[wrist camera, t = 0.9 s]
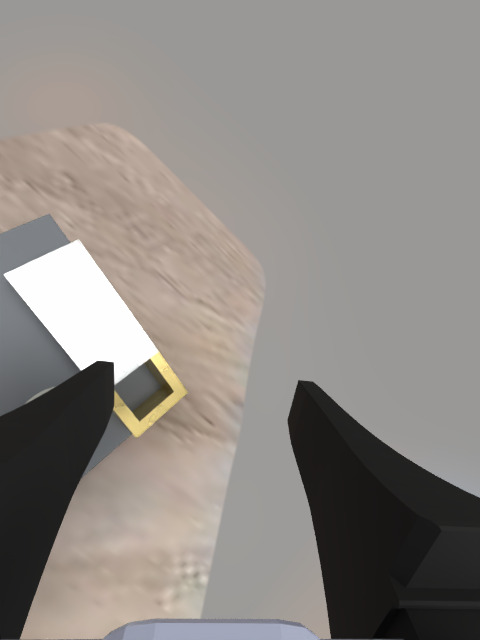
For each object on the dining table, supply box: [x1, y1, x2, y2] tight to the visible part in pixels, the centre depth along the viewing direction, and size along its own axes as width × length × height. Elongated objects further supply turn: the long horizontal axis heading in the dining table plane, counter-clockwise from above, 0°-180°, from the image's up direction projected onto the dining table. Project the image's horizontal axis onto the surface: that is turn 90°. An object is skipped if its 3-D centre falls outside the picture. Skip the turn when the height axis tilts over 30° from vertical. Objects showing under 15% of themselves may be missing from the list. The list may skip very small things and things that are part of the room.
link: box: [4, 240, 188, 438], centre depth 22 cm, size 13×5×3 cm, turn 37°
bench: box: [0, 214, 161, 478], centre depth 20 cm, size 17×17×3 cm
